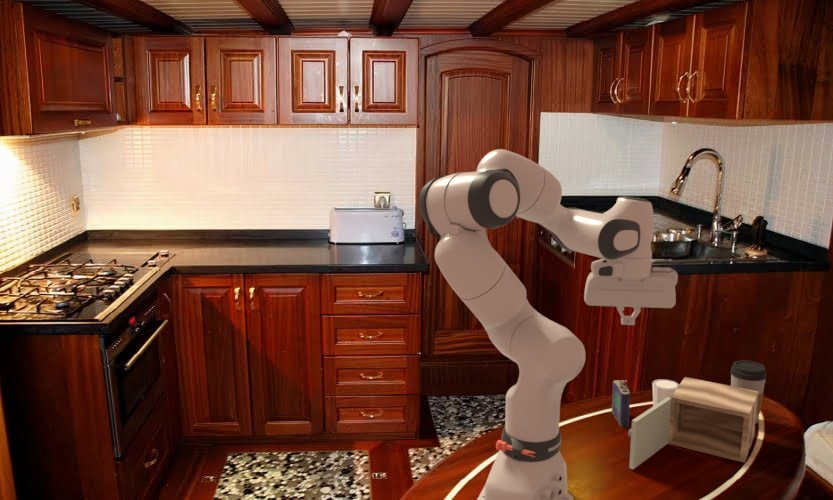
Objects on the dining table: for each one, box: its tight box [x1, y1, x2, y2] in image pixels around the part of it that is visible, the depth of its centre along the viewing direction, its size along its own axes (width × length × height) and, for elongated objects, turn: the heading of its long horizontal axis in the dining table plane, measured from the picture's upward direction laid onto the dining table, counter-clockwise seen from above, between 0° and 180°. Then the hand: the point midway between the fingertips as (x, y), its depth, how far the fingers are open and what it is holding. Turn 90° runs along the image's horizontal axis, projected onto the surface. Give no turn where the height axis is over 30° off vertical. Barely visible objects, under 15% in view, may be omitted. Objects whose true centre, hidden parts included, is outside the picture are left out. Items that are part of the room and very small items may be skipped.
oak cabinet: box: [667, 376, 759, 463], centre depth 169 cm, size 14×17×12 cm
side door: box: [627, 397, 671, 470], centre depth 162 cm, size 2×17×12 cm, turn 135°
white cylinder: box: [651, 378, 680, 407], centre depth 187 cm, size 7×7×7 cm
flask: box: [611, 379, 631, 428], centre depth 181 cm, size 9×3×11 cm, turn 1°
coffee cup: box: [729, 359, 768, 424], centre depth 179 cm, size 8×8×15 cm
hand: (627, 324), depth 165 cm, fingers closed
